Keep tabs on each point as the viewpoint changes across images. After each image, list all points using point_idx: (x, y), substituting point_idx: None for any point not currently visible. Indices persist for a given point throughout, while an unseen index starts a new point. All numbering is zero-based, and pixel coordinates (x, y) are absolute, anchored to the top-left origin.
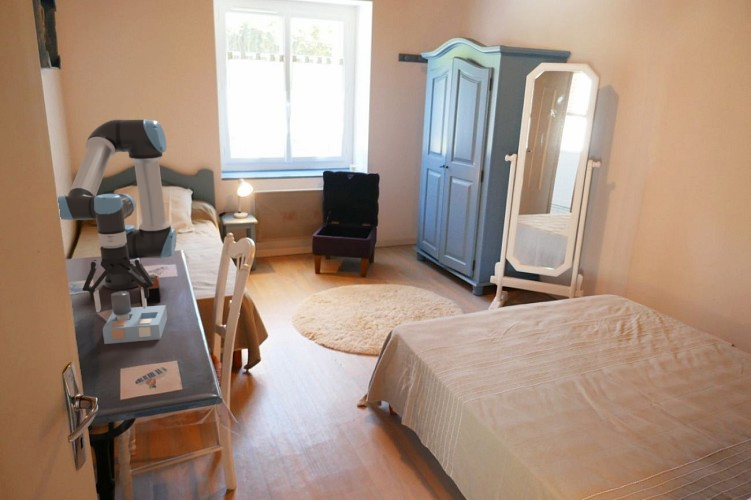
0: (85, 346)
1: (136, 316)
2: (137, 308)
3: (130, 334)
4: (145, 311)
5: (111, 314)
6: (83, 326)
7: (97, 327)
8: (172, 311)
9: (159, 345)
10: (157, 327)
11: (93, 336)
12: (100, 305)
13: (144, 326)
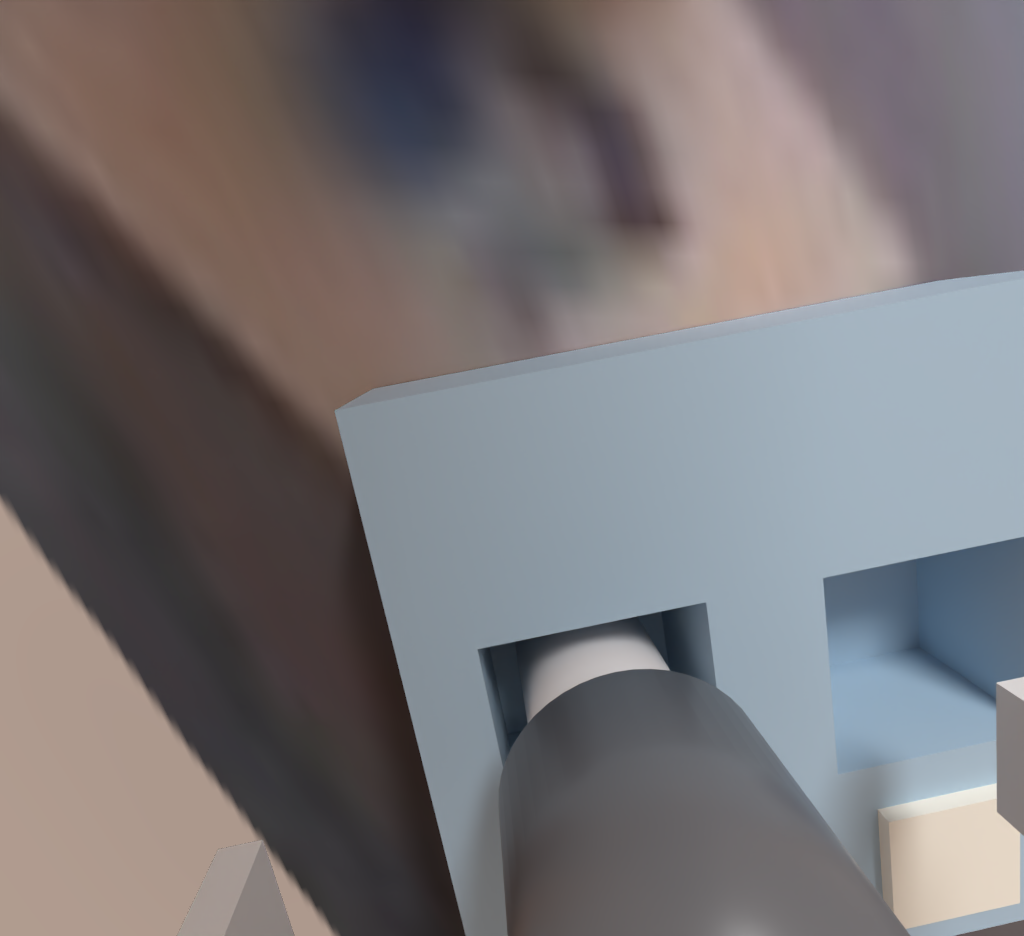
0: (332, 915)
1: (784, 694)
2: (708, 395)
3: None
4: (863, 517)
5: (394, 633)
6: (22, 492)
7: (212, 519)
8: (965, 21)
9: None
10: None
11: (294, 730)
12: (239, 912)
13: (941, 926)
